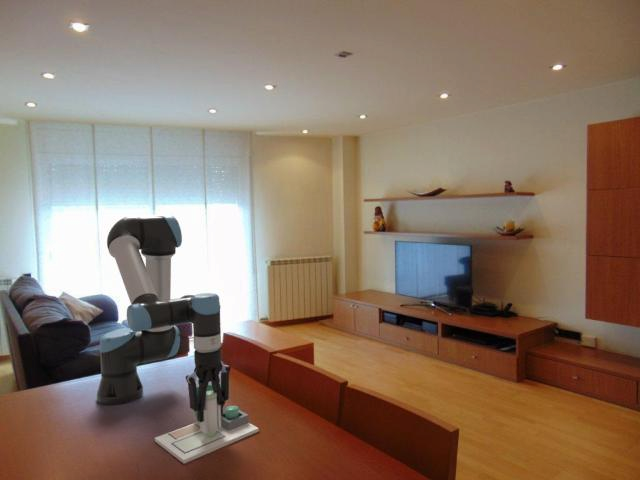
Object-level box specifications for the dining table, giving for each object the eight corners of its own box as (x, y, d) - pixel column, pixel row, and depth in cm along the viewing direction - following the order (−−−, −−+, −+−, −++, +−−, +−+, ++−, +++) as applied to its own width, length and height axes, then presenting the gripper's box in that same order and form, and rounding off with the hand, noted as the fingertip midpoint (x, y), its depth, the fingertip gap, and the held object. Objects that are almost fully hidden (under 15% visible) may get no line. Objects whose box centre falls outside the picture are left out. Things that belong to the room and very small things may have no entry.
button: (222, 418, 140) (222, 408, 140) (233, 413, 143) (233, 404, 143) (230, 422, 138) (229, 412, 137) (241, 417, 140) (241, 408, 140)
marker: (201, 434, 133) (200, 393, 132) (213, 429, 136) (212, 389, 135) (208, 438, 130) (207, 397, 129) (220, 434, 133) (219, 393, 132)
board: (154, 441, 132) (154, 429, 132) (226, 414, 149) (226, 403, 149) (183, 463, 120) (183, 450, 120) (258, 431, 137) (258, 419, 137)
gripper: (187, 358, 123) (190, 444, 124) (240, 344, 135) (242, 423, 136) (173, 352, 128) (177, 434, 130) (225, 339, 140) (228, 415, 141)
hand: (210, 428), depth 133 cm, fingers closed on marker, 4 cm apart
